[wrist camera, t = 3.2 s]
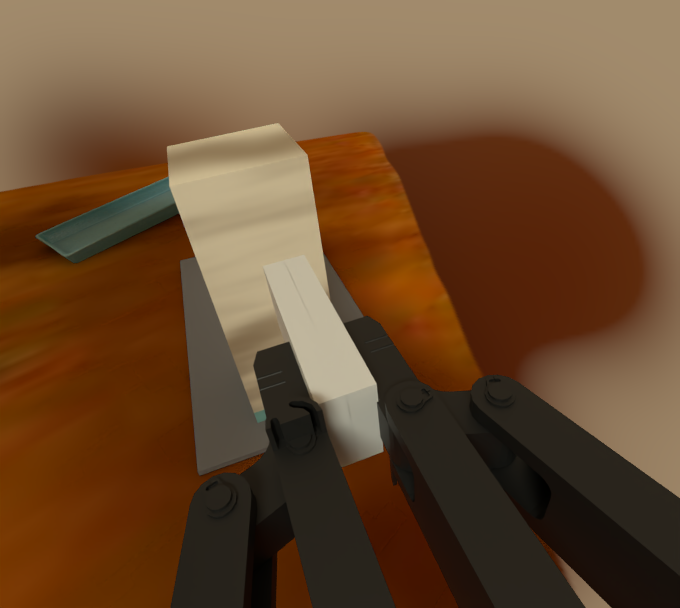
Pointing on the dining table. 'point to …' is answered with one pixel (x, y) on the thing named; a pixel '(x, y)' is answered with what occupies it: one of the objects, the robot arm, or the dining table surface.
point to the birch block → (246, 229)
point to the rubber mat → (228, 375)
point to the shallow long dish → (111, 222)
